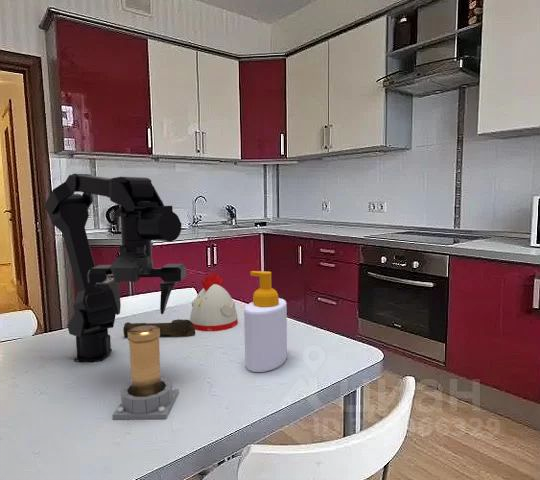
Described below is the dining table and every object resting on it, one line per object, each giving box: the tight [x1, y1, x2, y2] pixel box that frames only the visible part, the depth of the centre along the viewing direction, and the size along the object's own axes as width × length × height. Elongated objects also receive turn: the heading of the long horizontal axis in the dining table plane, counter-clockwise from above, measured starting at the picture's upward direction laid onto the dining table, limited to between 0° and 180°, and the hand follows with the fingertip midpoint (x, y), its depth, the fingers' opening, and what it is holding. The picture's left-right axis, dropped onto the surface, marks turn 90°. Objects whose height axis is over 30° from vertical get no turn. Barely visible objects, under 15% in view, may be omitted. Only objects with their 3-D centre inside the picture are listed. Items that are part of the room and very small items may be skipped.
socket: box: [112, 377, 180, 420], centre depth 72 cm, size 9×9×3 cm
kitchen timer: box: [189, 272, 239, 332], centre depth 118 cm, size 14×14×15 cm
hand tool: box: [122, 318, 196, 338], centre depth 108 cm, size 19×4×5 cm, turn 87°
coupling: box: [127, 326, 162, 397], centre depth 71 cm, size 5×5×13 cm
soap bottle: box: [243, 270, 288, 373], centre depth 90 cm, size 13×8×20 cm, turn 154°
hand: (140, 313), depth 84 cm, fingers open, 9 cm apart
